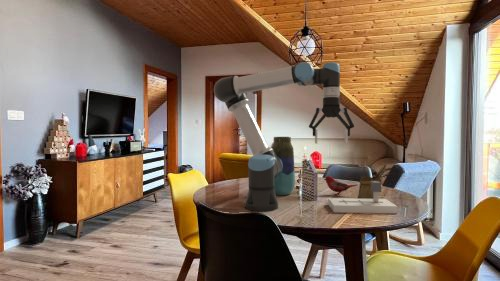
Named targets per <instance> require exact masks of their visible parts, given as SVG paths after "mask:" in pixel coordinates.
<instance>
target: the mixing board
mask: <svg viewBox="0 0 500 281" xmlns="http://www.w3.org/2000/svg"><path fill="white" fill-rule="evenodd" d="M327 200H328V201H327V204H328V207H329V208H330V209H331V211H332V212H333V213H343V214H344V213H349V214H350V213H353V214H354V213H357V214H359V213H360V214H398V206H397V205H396V204H394V203H393V202H391V201H389V200H388V199H386V198H378V202H374V201H373V199H357V198H346V197H345V198H344V197H343V198H339V197H338V198H337V197H336V198H333V197H330V198H329V197H328V198H327Z"/></svg>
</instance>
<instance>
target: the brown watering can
mask: <svg viewBox="0 0 500 281" xmlns="http://www.w3.org/2000/svg"><path fill="white" fill-rule="evenodd" d="M386 169H387V164H384V165H382V166H381V167H380V169H378V171H377V173H376V175H373V176H371V177H370V176H360V180H359V189H358V195H357V197H356V199H373V197H374V192H373V191H372V190H371V181H379V182H381V183H382V178H381V177H380V176H381V174H382V173H383V172H384V171H385V170H386Z"/></svg>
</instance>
